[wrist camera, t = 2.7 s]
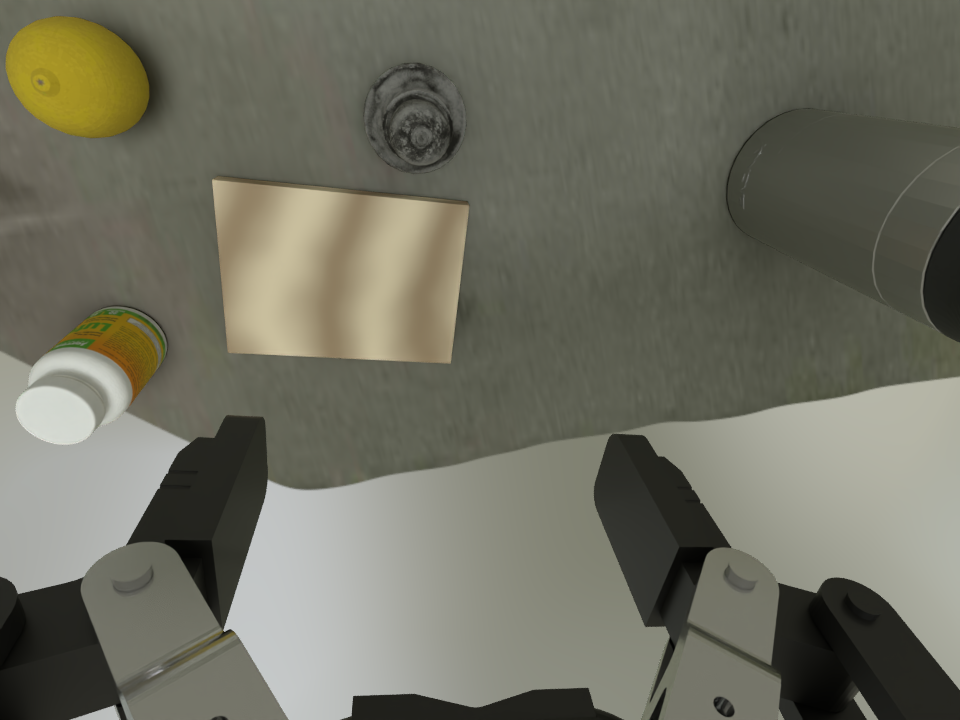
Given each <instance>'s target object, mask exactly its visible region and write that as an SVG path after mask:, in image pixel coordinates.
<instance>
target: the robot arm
mask: <svg viewBox="0 0 960 720" xmlns="http://www.w3.org/2000/svg"><path fill="white" fill-rule="evenodd" d="M727 200H728V205H729V211H730V213H731V215H732V218H733V220H734V222H735V223H736V224H737V226H738V227H739V228H740V229H741V230H742V231H743V232H745V233H746V234H748V235H749V236H751V237H753V238H755V239H757V240H759V241H761V242H763V243H764V244H766V245H768V246H770V247H772V248H774V249H776V250H778V251H780V252H782V253H784V254H786V255H788V256H790V257H792V258H793V259H795V260H797V261H799V262H801V263H803V264H805V265H807V266H809V267H811V268H813V269H815V270H817V271H819V272H821V273H823V274H825V275H827V276H829V277H831V278H833V279H835V280H837V281H839V282H841V283H843V284H845V285H847V286H849V287H851V288H853V289H855V290H857V291H859V292H861V293H863V294H865V295H867V296H869V297H871V298H873V299H875V300H877V301H879V302H881V303H883V304H885V305H887V306H889V307H890V308H892V309H894V310H896V311H898V312H900V313H903V314H905V315H907V316H909V317H911V318H913V319H915V320H917V321H919V322H921V323H923V324H925V325H927V326H929V327H931V328H933V329H935V330H937V331H938V332H940V333H942V334H944V335H946V336H947V337H949V338H951V339H953V340H956V341H958V342H960V128H956V127H948V126H941V125H933V124H925V123H917V122H910V121H902V120H894V119H886V118H879V117H871V116H863V115H857V114H849V113H841V112H833V111H825V110H817V109H809V108H808V109H798V110H793V111H790V112H787V113H784V114H781V115H779V116H778V117H776V118H774V119H772V120H770V121H769V122H767V123H766V124H765V125H764V126H762V127H761V128H760V129H759V130H757V131H756V132H755V133H754V135H753V136H752V137H751V138H750V139H749V140H748V141H747V142H746V144H745V145H744V147H743V148H742V150H741V152H740V153H739V155H738V156H737V158H736V161H735V163H734V165H733V168H732V170H731V174H730V178H729V182H728V193H727ZM267 479H268V467H267V448H266V429H265V420H264V418H263V417H256V416H234V415H227V416H226V417H225V418H224V420H223V422H222V424H221V426H220V428H219V430H218V432H217V434H216V436H215V438H203V437H198V438H196V439H195V440H194V441H193V442H191V443H190V444H189V445H188V446H186V447H185V448H184V449H182V450H181V451H180V452H179V453H178V454H177V456H176V458H175V460H174V461H173V464H172V465H171V467H170V469H169V472H168V474H166V476H165V477H164V479H163V481H162V483H161V484H160V489H158V490H157V491H156V493H155V495H154V497H153V499H152V500H151V502H150V504H149V506H148V507H147V509H146V511H145V513H144V514H143V516H142V518H141V520H140V522H139V523H138V525H137V527H136V529H135V530H134V532H133V534H132V536H131V538H130V539H129V541H128V543H127V544H126V546H123V547H120V548H118V549H116V550H114V551H112V552H110V553H108V554H106V555H105V556H103V557H102V558H101V559H99V560H98V561H97V562H96V563H95V564H94V565H93V566H92V567H91V568H90V569H89V570H88V571H87V573H86V575H85V576H84V577H83V578H80V579H78V580H75V581H71V582H68V583H64V584H60V585H56V586H51V587H47V588H43V589H38V590H34V591H30V592H25V593H22V594H18V593H17V591H16V588H15V586H14V585H13V584H12V582H10V581H8V580H7V579H5V578H2V577H0V720H70V719H73V718H76V717H79V716H83V715H86V714H89V713H92V712H95V711H98V710H101V709H104V708H107V707H110V706H113V705H114V707H115V709H116V712H117V715H118V717H119V720H288V718H287V717H286V715H285V713H284V712H283V710H282V708H281V707H280V705H279V703H278V702H277V700H276V698H275V697H274V695H273V693H272V692H271V690H270V688H269V687H268V685H267V683H266V682H265V680H264V678H263V677H262V675H261V673H260V672H259V670H258V668H257V667H256V665H255V663H254V662H253V660H252V658H251V657H250V655H249V653H248V652H247V650H246V648H245V647H244V645H243V643H242V642H241V640H240V639H239V637H238V636H237V635H236V633H235V632H234V631H232V630H231V629H230V630H227V631H226V632H224V631H223V629H224V626H225V623H226V620H227V617H228V613H229V610H230V607H231V604H232V601H233V598H234V594H235V591H236V588H237V585H238V582H239V579H240V575H241V572H242V569H243V566H244V563H245V560H246V556H247V553H248V550H249V547H250V544H251V540H252V537H253V534H254V531H255V528H256V525H257V522H258V518H259V515H260V512H261V509H262V505H263V503H264V499H265V495H266V489H267ZM594 501H595V506H596V509H597V512H598V514H599V517H600V519H601V521H602V524H603V526H604V529H605V531H606V533H607V536H608V538H609V541H610V543H611V545H612V548H613V550H614V553H615V555H616V557H617V560H618V562H619V565H620V567H621V570H622V572H623V574H624V577H625V579H626V581H627V584H628V586H629V589H630V591H631V594H632V596H633V598H634V601H635V603H636V605H637V608H638V611H639V613H640V615H641V618H642V620H643V622H644V625H645V626H646V627H659V626H666V628H667V631H668V633H669V635H670V636H669V638H668V640H667V642H666V644H665V647H664V650H663V653H662V656H661V659H660V662H659V666H658V669H657V672H656V675H655V678H654V681H653V684H652V687H651V691H650V694H649V697H648V700H647V703H646V706H645V710H644V712H643V716H642V718H641V720H778V711H779V710H780V712H781V714H782V716H783V718H784V719H785V720H867V719H866V718H865V716H864V714H863V713H862V711H861V710H860V708H859V707H858V705H857V704H856V702H855V700H854V699H853V698H854V697H855V695H856V694H857V693H858V692H859V691H860V692H861V694H862V695H863V697H864V698H865V700H866V702H867V703H868V705H869V706H870V708H871V709H872V711H873V712H874V714H875V715H876V717H877V718H878V720H960V690H959V689H958V687H957V686H956V685H955V684H954V683H953V681H952V680H951V679H950V678H949V676H948V675H947V674H946V673H945V671H944V670H943V669H942V668H941V667H940V665H939V664H938V663H937V662H936V660H935V659H934V658H933V657H932V655H931V654H930V653H929V652H928V651H927V650H926V648H925V647H924V646H923V644H922V643H921V642H920V641H919V639H918V638H917V637H916V636H915V635H914V633H913V632H912V631H911V630H910V628H909V627H908V626H907V625H906V624H905V622H904V621H903V620H902V619H901V617H900V616H899V615H898V614H897V612H896V611H895V610H894V609H893V608H892V607H891V606H890V604H889V603H888V602H886V601H885V600H884V599H883V598H882V597H881V596H880V595H878V594H877V593H875V592H874V591H872V590H871V589H869V588H867V587H866V586H864V585H862V584H860V583H857V582H855V581H852V580H848V579H845V578H830V579H827V580H825V581H824V583H822V585H821V587H820V588H819V590H818V592H817V593H813V592H809V591H805V590H802V589H798V588H795V587H791V586H787V585H784V584H780V583H777V581H776V579H775V577H774V576H773V574H772V573H771V572H770V570H769V569H768V568H767V567H766V566H765V565H764V564H762V563H761V562H760V561H758V560H757V559H756V558H754V557H752V556H751V555H749V554H747V553H744V552H742V551H739V550H736V549H732V548H731V546H730V545H729V544H728V542H727V540H726V539H725V537H724V536H723V534H722V533H721V531H720V529H719V528H718V526H717V525H716V523H715V522H714V520H713V519H712V517H711V516H710V514H709V513H708V511H707V510H706V508H705V507H704V505H703V504H702V503H700V499H699V498H698V496H697V494H696V493H695V491H694V490H692V487H691V485H690V484H689V482H688V481H687V479H686V478H685V476H684V475H683V473H682V472H681V470H679V469H678V468H677V467H676V466H675V465H673V464H672V463H671V462H670V461H669V460H667V459H666V458H665V457H658V456H657V454H656V453H655V451H654V450H653V448H652V446H651V445H650V443H649V441H648V440H647V438H646V437H645V436H643V435H625V434H612V435H611V436H610V437H609V439H608V442H607V445H606V448H605V452H604V455H603V458H602V462H601V465H600V468H599V472H598V475H597V478H596V481H595V486H594ZM342 720H623V719H621V718H619V717H617V716H615V715H613V714H610V713H608V712H605V711H602V710H599V709H595V708H594V706H593V702H592V699H591V695H590V692H589V689H588V688H573V689H544V690H532V691H529V692H526V693H522V694H520V695H516V696H513V697H510V698H507V699H504V700H501V701H498V702H495V703H492V704H490V705H486V706H483V707H477V708H474V707H468V706H464V705H459V704H455V703H451V702H446V701H442V700H438V699H434V698H429V697H425V696H421V695H416V694H400V695H370V696H353V705H352V716H351V717H348V718H345V719H342Z"/></svg>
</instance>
